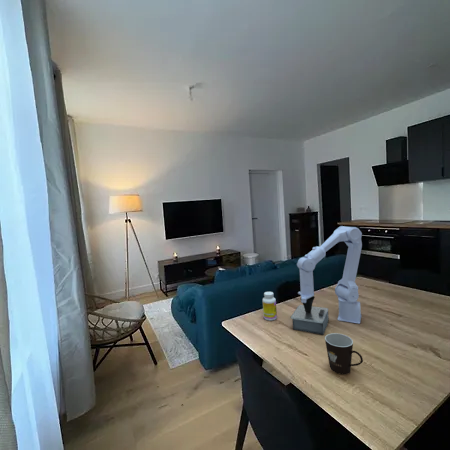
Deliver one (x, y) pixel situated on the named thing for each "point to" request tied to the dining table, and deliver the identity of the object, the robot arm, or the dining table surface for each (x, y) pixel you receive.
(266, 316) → the supplement bottle
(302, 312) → the steel lid
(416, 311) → the dining table surface
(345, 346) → the coffee mug
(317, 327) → the grey square box
